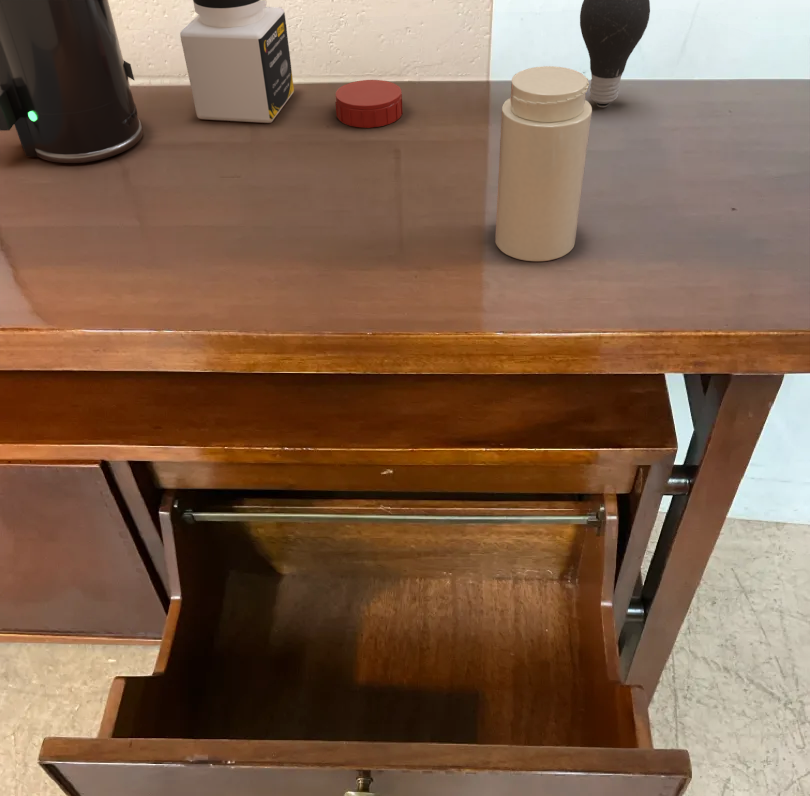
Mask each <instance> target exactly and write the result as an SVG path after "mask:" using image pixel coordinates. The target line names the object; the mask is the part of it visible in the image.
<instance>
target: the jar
mask: <svg viewBox="0 0 810 796" xmlns="http://www.w3.org/2000/svg"><path fill="white" fill-rule="evenodd" d="M510 85H511V86H510V98H507V99H506V100H505V101H504V103H503V104H502V107H501V119H500V122H501V123H500V137H499V138H500V139H499V159H498V177H497V178H498V180H497V196H496V197H497V198H496V199H497V200H496V216H495V217H496V218H495V235H494V236H495V237H494V241H495V245H496V246H497V248H498V249H499V250H500V251H501V252H502V253H503V254H505V255H507V256H508V257H510V258H513V259H515V260H516V259H517V260H521V261H527V262H547V261H552V260H556V259H559V258H563V257H564V256H566V255H567V254H569V253H570V252H571V251H572V250H573V249H574V247H575V245H576V240H577V239H576V237H577V231H578V224H579V223H578V222H579V215H580V209H581V199H582V193H583V184H584V176H585V169H586V160H587V153H588V146H589V137H590V131H591V123H592V116H593V115H592V113H593V107H592V105H591V103H590V102H589V101H588V100H587V99H586V97H587V93H588V91H589V89H590V82H589V78H588V77H587V76H586V75H585V74H583V73H582V72H580V71H577V70H575V69H572V68H568V67H563V66H562V67H561V66H551V65H546V66H545V65H543V66H535V67H534V66H533V67H529V68H525V69H523V70H520V71H518V72H517V73H515V74H514V75H513V76H512V78H511V84H510Z"/></svg>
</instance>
